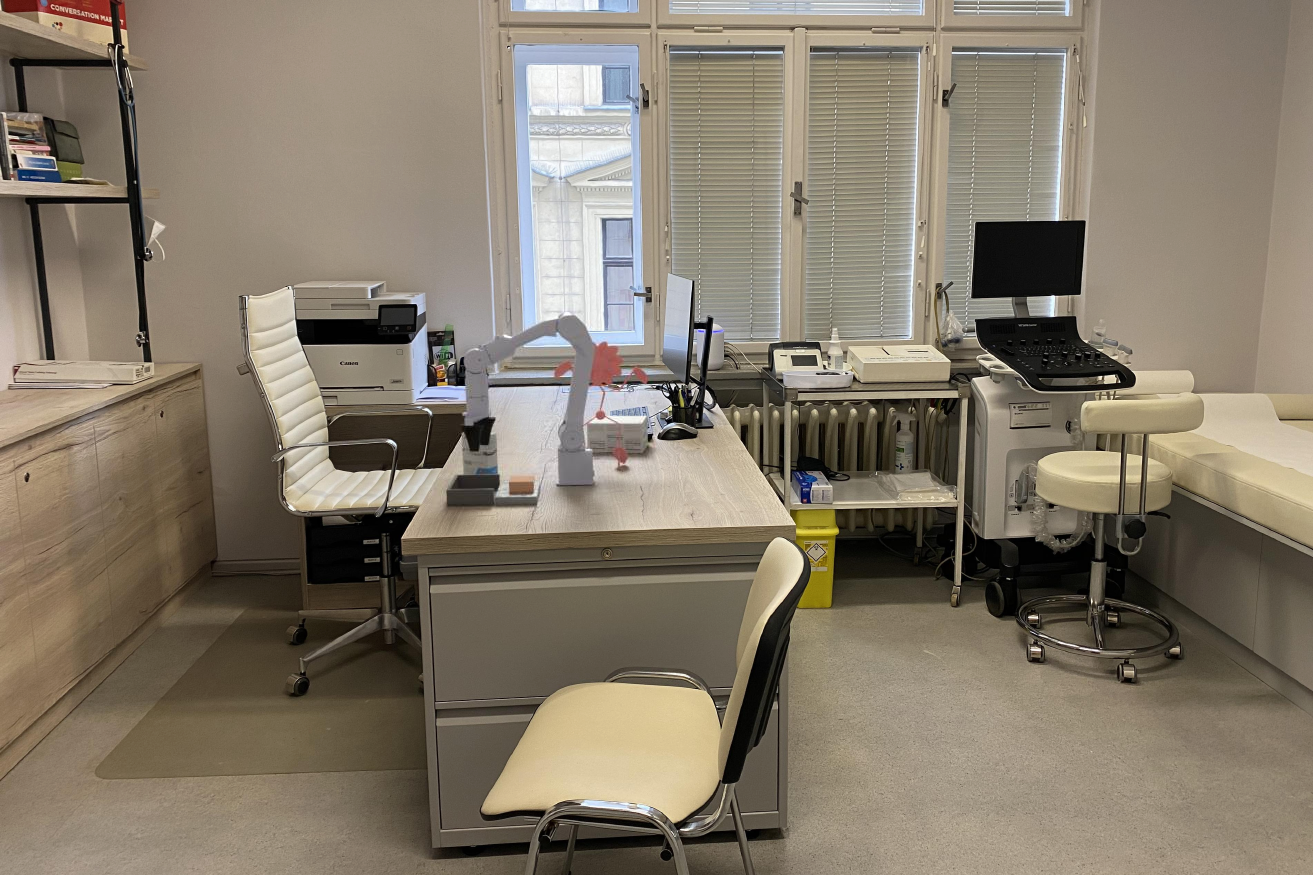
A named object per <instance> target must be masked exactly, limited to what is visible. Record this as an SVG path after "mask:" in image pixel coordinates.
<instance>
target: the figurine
mask: <svg viewBox="0 0 1313 875" xmlns="http://www.w3.org/2000/svg"><path fill="white" fill-rule="evenodd" d="M593 344H594V346H595V352H594V358H593V364H592V370H591V376H590V381H591V380H592V381H591V382H592V384H589V387H588V388H590V387H599V388H600V390H601V391H602V392H603V393H602V398H601V402H600V407H599V410H597V411H596V412H595V415H594V416H595V417H594V418H590V419H589V420H588V421H587V422H585V423H584V424H583V427H585V426H587V424H588V423H589V422H590V421H592V420H593V419H595V418H597V419H598V420H602V419H604V418H605V417H606V418H608V417H607V416H608V415H606V413H605V412H604V410H602V409H603V404H604V399H605V396H606V391H605V389H604V388H608V389H611V390H614V391H618V392H621V390H622V389H623V388H624V386H625V385H626V384H627V382H628V381H629V379H630V378H631V377H632V376H633V375H634V377H635V378H636V379H637V381H639V382H641V383H642V384H644V385H647V383H648V379H649V378H648V375H647V373H646V372H645V371H644V370H643V369H642V368H640V367H638V366H634V367H633V370H632V371H631V372H630V374H629V376H627V378H626V379H625V380H624V382H622V385H621V386H620V387H619V388H616V387H613V386H610V385H611V384H613V381H614V377H620V376H622V373H623V372H622V368H621V367H620V365H622V364H623V362H624V360H623V358H622V357H621V356H619V355H617V353H618V351H619V347H618V346H616V345H608V341H602V342H601V343H599V344H598V345H597V344H596V343H595V342H594V341H593ZM571 362H572V361H571V359H568V360H565V361H564V362H562V363H561V364H559V365H558V366H557V367H556V369H555V370H554V374H553V375H554V376H553V377H554V380H556V379H558V378H560V377H562V376H564V375H565V374H566V373H568V371H570V370H571V373H573V367H574V366H573V365H572V363H571ZM603 383H605V384H603ZM603 387H604V388H603ZM608 419H609V420H611V421H613V422H615V423H617V424H619V425H620V423H618V422H616V421H614V420H612V419H610V418H608ZM620 432H621V425H620V428H619V442H618V447H615V448H614V451H613V453H612V454H613V457H614V459H615V460H616V461H617V468H618V470H621V464H623V465H625V464H626V462H627V460H628V457H629V456H628V453H627V452H626V451H625V450H624V449H623V448H622V447H619V446H620ZM583 433H584V434H585V431H584V429H583ZM583 445H585V448H586V449H590V448H588V447H586V439H585V440H584V444H583ZM599 458H600V457H598V458H597V457H596V458H594V460H600V459H599Z"/></svg>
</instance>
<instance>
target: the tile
mask: <svg viewBox="0 0 1313 875" xmlns="http://www.w3.org/2000/svg"><path fill="white" fill-rule="evenodd" d="M508 480H509V492H531V491H534V488H535V481H536V476H535V475H516V476H515V475H514V476H511V475H510V478H509V479H508Z"/></svg>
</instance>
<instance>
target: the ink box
mask: <svg viewBox="0 0 1313 875" xmlns="http://www.w3.org/2000/svg"><path fill="white" fill-rule="evenodd" d="M497 440H498V439H497V433H496V432H491V435H490V441H489V445H480V448H479V451H478V452H471V451H470V449H469V445H468V442H467V439H466V436H465V434H464V432H461V448H462V451H461V452H462V469H463V470H462V474H499V470H498V468H499V466H498V464H499V463H498V446H497V444H498V441H497Z"/></svg>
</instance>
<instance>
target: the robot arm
mask: <svg viewBox="0 0 1313 875" xmlns="http://www.w3.org/2000/svg"><path fill="white" fill-rule="evenodd" d="M557 333H558V334H559V336H560V337H561V338H563V339H564V340H565V341H567V342H568V343H569V344H570V345H571V347H572V348H573V349H574V350H575V357H574V362H573V366H572V367H573V373H572V372H571V373H572V374H571V380H570V384H569V385H570V386H569V392H568V397H567V404H566V408H565V413H564V416H563V421H562V423H561V424H560V425H559V427H558V430H557V435H558V438H559V441H560V444H559V445H558V446H557V470H558V471H557V473H558V476H556V477H557V478H556V483H555V484H556V486H587V485H589V486H590V485H591V486H592V485H593V484H594V477H595V469H594V456H593V454H594V452H593V449H586V448H587V447H586V444H585V445H584V440H585V441H586V439H585V432H584V433H583V430H584V426H583V425H584V424H585V423H584V422H585V420H584V416H585V410H586V404H587V398H588V394H589V393H588V392H589V388H590V387H589V385H590V381H591V380H590V376H591V370H592V364H593V358H594V352H595V346H594V344H593V342H594V341H593V339H592V337H591V335H590V333H589V331H588V328H587V326H586V325H585V323H583V321H582V320H581V319H580V318H578V316H577V315H575V314H574V313H572V312H569V311H567V312H562V313H561V314H559V315H555V316H551V317H548V318H546V319H544V320H541V321H539V322H537V323H535V324H533V325H532V326H530V327H528V328H526V329H524V330H522V331H520V332H518V333H516V334H513V335H512V336H509V335H506V334H501V335H500V334H497V335H494V338H493V339H492V340H491V339H490V340H489V341H487V342H485V343H484V344H482V343H479V344H477V348H476V347H475V348H471V349H469V350H468V351H466V353H465V354H464V358H463V364H464V367H465V371H464V375H465V378H464V385H465V386H464V388H465V389H464V390H465V401H466V402H465V404H466V405H465V407H466V408H465V409H466V411H464V412H462V413H461V414H462V417H464V423H461V424H460V429H461V430H462V433H464V434H465V436H466V439H467V442H468V445H469V449H470V451H471V452H478V451H479V448H480V445H489V441H490V435H491V433H492V429H493V427H494V424H495V422H496V420H497V419H496V417H495V416H492V408H491V407H490V400H489V399H490V398H489V396H490V395H489V379H488V376H487V368H488V366H493V365H496V364H498V363H499V362H502V361H504V360H506V359H509V358H510V357H512V356H514V355H515V353H516V350H517V349H518V348H520V347H522V346H524V345H526V344H529V343H531V342H533V341H536V340H538V339H540V338H542V337H555V338H556V337H557ZM585 447H586V448H585Z"/></svg>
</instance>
